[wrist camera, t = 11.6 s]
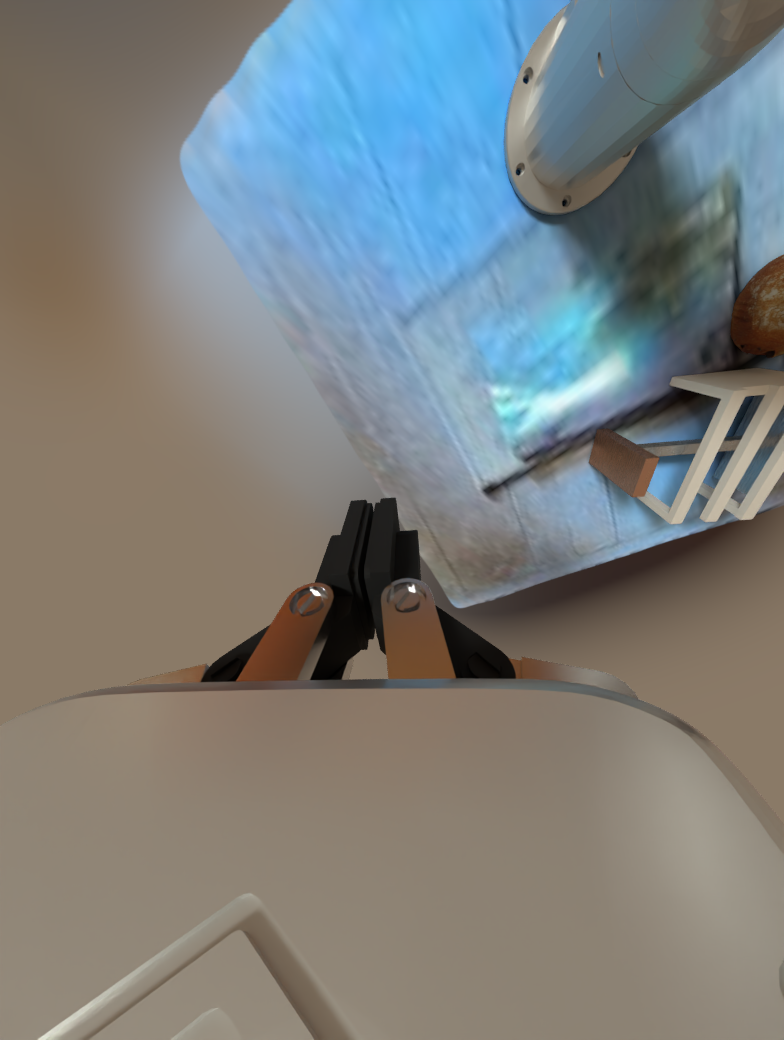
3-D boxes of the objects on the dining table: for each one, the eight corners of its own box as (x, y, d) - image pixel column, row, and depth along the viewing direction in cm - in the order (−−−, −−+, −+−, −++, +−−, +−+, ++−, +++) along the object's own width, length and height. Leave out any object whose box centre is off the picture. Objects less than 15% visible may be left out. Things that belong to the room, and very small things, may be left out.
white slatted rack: (672, 376, 39) (733, 391, 32) (758, 367, 38) (842, 380, 31) (630, 492, 49) (670, 524, 41) (698, 487, 48) (752, 519, 40)
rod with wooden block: (605, 399, 41) (659, 423, 32) (769, 383, 39) (875, 403, 30) (582, 485, 48) (621, 524, 39) (720, 475, 46) (794, 513, 37)
